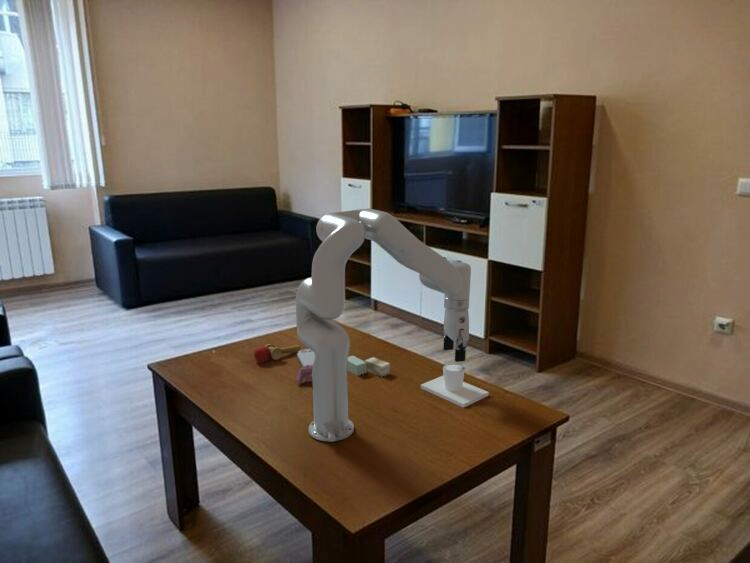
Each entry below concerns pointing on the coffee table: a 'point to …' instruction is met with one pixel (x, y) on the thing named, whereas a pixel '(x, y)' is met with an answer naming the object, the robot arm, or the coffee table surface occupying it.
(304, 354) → the game console
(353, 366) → the sage block
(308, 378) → the video game controller
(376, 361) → the birch block
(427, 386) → the ceramic tile
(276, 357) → the kendama
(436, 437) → the coffee table surface
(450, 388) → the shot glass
